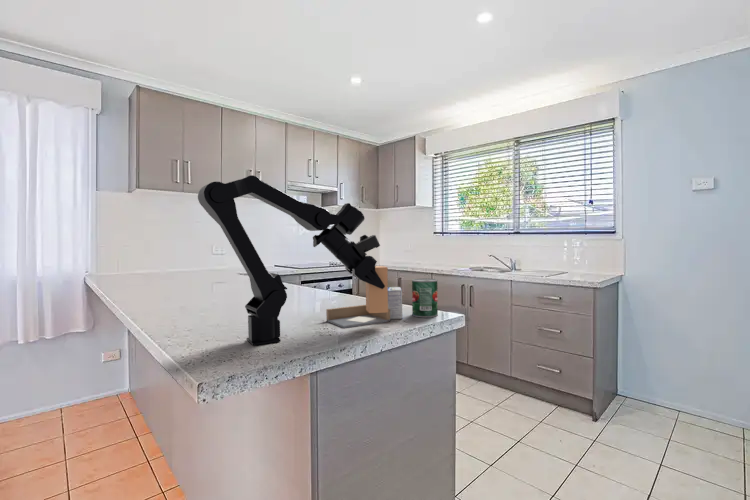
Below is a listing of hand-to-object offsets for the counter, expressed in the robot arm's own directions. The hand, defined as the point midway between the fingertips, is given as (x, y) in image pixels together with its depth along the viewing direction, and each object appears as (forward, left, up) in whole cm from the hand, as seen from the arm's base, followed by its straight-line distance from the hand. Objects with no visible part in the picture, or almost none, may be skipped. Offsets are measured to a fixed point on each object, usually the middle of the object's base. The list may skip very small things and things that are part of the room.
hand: (381, 286), depth 109 cm
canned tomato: (+20, +6, -11) cm, 23 cm away
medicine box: (+11, +9, -11) cm, 18 cm away
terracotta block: (-1, 0, -7) cm, 7 cm away
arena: (-2, +10, -11) cm, 15 cm away
